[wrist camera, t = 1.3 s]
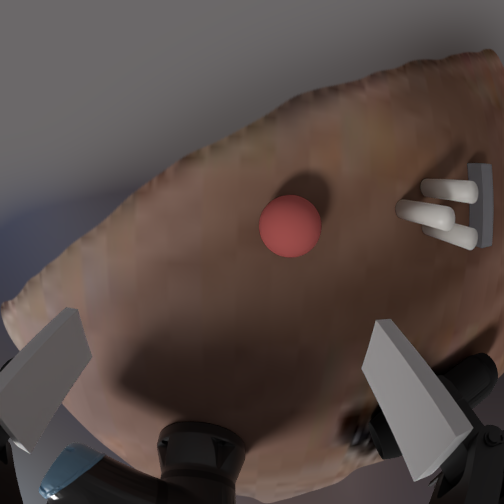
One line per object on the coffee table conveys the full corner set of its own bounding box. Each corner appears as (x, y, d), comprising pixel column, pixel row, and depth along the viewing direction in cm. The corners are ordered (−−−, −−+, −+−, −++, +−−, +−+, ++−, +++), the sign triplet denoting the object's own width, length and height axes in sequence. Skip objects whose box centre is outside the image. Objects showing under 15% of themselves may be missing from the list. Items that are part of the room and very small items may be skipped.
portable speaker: (474, 340, 36) (505, 365, 26) (469, 373, 38) (494, 398, 29) (364, 408, 37) (385, 449, 27) (368, 434, 39) (386, 471, 30)
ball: (260, 252, 29) (265, 269, 24) (253, 197, 28) (257, 200, 22) (314, 245, 30) (331, 260, 24) (309, 191, 28) (326, 192, 22)
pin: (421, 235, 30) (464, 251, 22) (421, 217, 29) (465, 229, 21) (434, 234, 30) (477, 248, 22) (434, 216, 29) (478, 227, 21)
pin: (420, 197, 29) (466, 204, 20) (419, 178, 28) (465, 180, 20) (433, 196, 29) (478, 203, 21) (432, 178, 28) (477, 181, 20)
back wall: (468, 243, 31) (481, 248, 28) (467, 163, 28) (480, 163, 25) (479, 241, 31) (491, 245, 28) (478, 164, 28) (491, 164, 25)
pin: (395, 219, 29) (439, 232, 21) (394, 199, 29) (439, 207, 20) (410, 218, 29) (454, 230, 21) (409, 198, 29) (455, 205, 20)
